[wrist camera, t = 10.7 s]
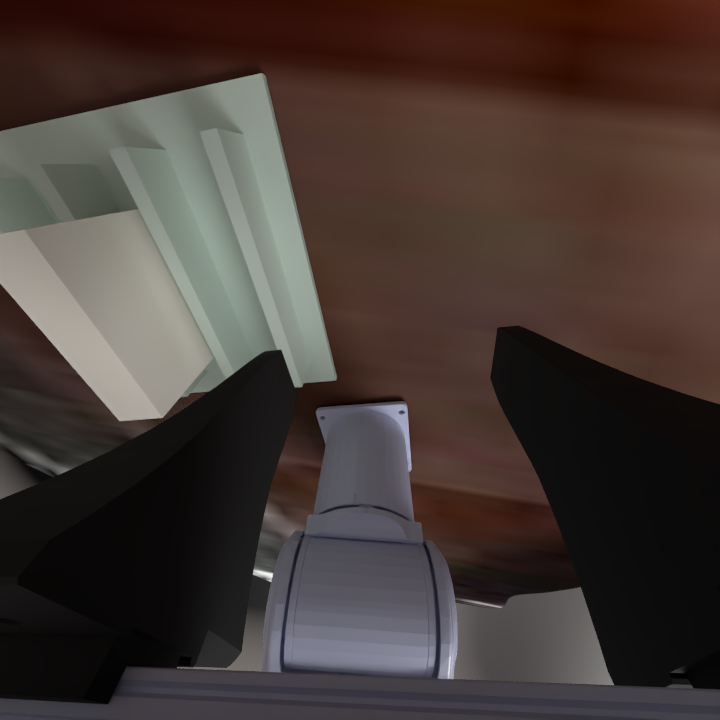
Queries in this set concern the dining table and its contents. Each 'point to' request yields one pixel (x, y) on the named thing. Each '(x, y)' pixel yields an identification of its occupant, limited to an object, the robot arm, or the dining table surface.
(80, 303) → the tile plate
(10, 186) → the dish rack
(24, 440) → the dining table surface
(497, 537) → the dining table surface
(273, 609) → the robot arm
